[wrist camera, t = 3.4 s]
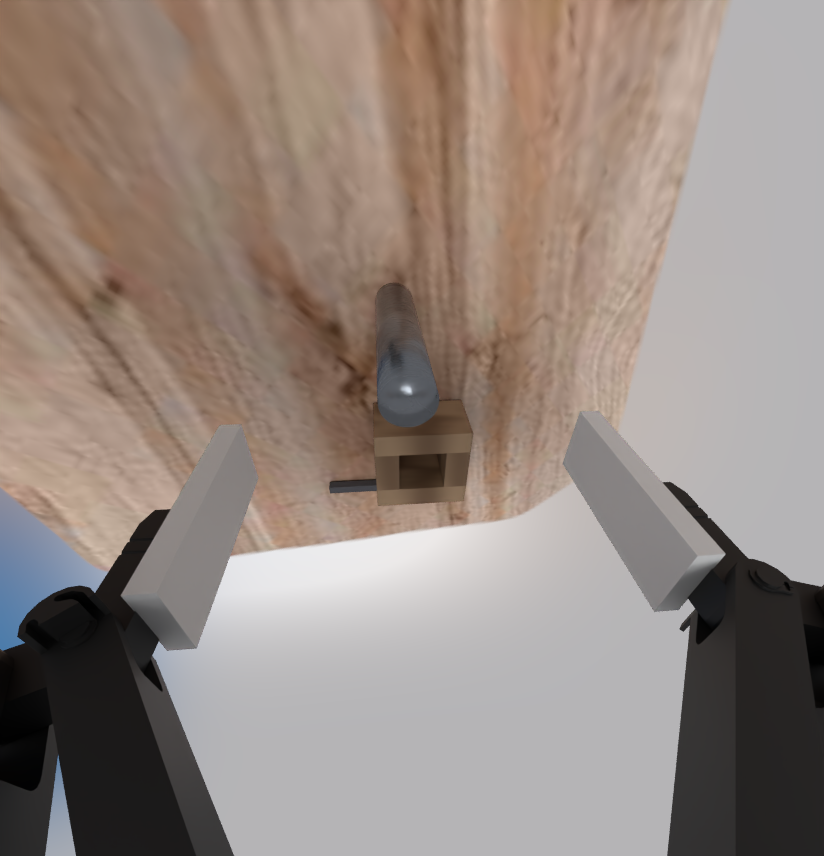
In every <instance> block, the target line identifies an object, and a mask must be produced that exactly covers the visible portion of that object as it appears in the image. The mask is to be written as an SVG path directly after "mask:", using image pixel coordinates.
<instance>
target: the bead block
mask: <svg viewBox="0 0 824 856" xmlns="http://www.w3.org/2000/svg"><path fill="white" fill-rule="evenodd" d="M373 414H374V452H375V468H376V484H377V499H378V506H385V505H402V504H420V503H437V502H455V501H464V495H465V488H466V481H467V474H468V467H469V460H470V452H471V445H472V438H473V431H472V429H471V426H470V423H469V420H468V417H467V415H466V412H465V409H464V406H463V403H462V401H461V400H449V401H439V406H438V409H437V411H436V412H435V414H434V415H433V416H432V418H430V419H429V420H428V421H427V422H425V423H423V424H421V425H418V426H414V427H399V426H396V425H393V424H391V423H389V422H388V421H387V420H385V419H384V418H383V416H382V415H381V413H380V411H379V409H378V403H373Z"/></svg>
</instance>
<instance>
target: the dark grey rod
mask: <svg viewBox="0 0 824 856" xmlns="http://www.w3.org/2000/svg"><path fill="white" fill-rule="evenodd" d="M329 489H330V493H344V492H362V491H377V484H376V480H364V481H344V482H330V486H329Z"/></svg>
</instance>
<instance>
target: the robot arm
mask: <svg viewBox="0 0 824 856" xmlns="http://www.w3.org/2000/svg"><path fill="white" fill-rule="evenodd" d="M563 465H564V466H565V468H566V470H567V471H568V473H569V475H570V476H571V478H572V479H573V481H574V483H575V484H576V486H577V488H578V489H579V491H580V492H581V494H582V495H583V497H584V498H585V500H586V502H587V504H588V505H589V507H590V509H591V510H592V512H593V513H594V515H595V517H596V518H597V520H598V521H599V523H600V525H601V526H602V528H603V530H604V531H605V533H606V534H607V536H608V538H609V539H610V541H611V543H612V544H613V546H614V547H615V549H616V550H617V552H618V554H619V555H620V557H621V559H622V560H623V562H624V564H625V565H626V567H627V568H628V570H629V572H630V573H631V575H632V576H633V578H634V580H635V581H636V583H637V585H638V586H639V588H640V589H641V591H642V593H643V594H644V596H645V597H646V599H647V601H648V602H649V604H650V606H651V607H652V609H653V610H654V612H656V611H669V610H679V609H680V607H681V606H682V605H683V604H684V603H685V602H686V600H687V599H689V600H690V602H691V603H692V605H693V606H694V607H695V610H694V611H693V612H692V613H691V614H690V615H689V616H688V618H687V619H686V620H685V621H684V622H683V623H682V625H681V627H680V630H682V631H685V629H686V628H687V627H688V626H690V631H689V642H688V651H687V662H686V671H685V681H684V692H683V702H682V712H681V723H680V732H679V742H678V752H677V763H676V773H675V783H674V793H673V804H672V813H671V823H670V834H669V844H668V854H667V856H824V585H823V586H822V587H819V586H815V585H810V584H805V583H800V582H796V581H791V580H790V579H789V578H788V577H786V575H784V574H783V573H782V572H780V571H779V570H778V569H776V568H774V567H772V566H770V565H768V564H767V563H765V562H761V561H758V560H755V559H748V558H747V557H746V556H745V555H744V554H743V553H742V552H741V551H740V550H739V548H738V547H737V546H736V545H735V544H734V543H733V542H732V541H731V540H730V539H729V538H728V537H727V536H726V535H725V533H724V532H723V531H722V530H721V529H720V528H719V527H718V526H717V525H716V524H715V523H714V522H713V521H712V520H711V518H708V515H707V514H706V513H705V512H704V511H703V510H702V509H701V508H699V507H698V505H697V503H695V501H694V500H693V499H692V498H691V497H690V496H689V495H688V494H687V493H686V492H685V491H683V490H682V489H680V488H678V487H677V486H676V485H674V484H673V483H671V482H661V481H660V480H659V478H658V477H657V476H656V475H655V474H654V473H653V472H652V470H651V469H650V468H649V467H648V466H647V465H646V464H645V463H644V461H643V460H642V459H641V458H640V457H639V456H638V455H637V454H636V452H635V451H634V450H633V449H632V448H631V447H630V446H629V445H628V443H627V442H626V441H625V440H624V439H623V438H622V437H621V436H620V434H619V433H618V432H617V431H616V430H615V429H614V428H613V427H612V425H611V424H610V423H609V422H608V421H607V420H606V419H605V418H604V416H603V415H602V414H601V413H600V412H599V411H582V412H580V413H579V416H578V419H577V422H576V425H575V428H574V431H573V434H572V437H571V440H570V443H569V446H568V449H567V452H566V455H565V458H564V461H563ZM257 480H258V475H257V472H256V469H255V466H254V463H253V460H252V457H251V453H250V450H249V447H248V444H247V441H246V438H245V435H244V432H243V429H242V426H241V424H233V425H220V426H219V427H218V429H217V431H216V432H215V434H214V436H213V438H212V439H211V441H210V443H209V444H208V446H207V448H206V450H205V451H204V453H203V455H202V457H201V458H200V460H199V462H198V463H197V465H196V467H195V469H194V470H193V472H192V474H191V475H190V477H189V479H188V481H187V482H186V484H185V486H184V488H183V489H182V491H181V493H180V494H179V496H178V498H177V500H176V501H175V503H174V505H173V506H172V508H171V509H167V510H155V511H154V512H152V513H151V514H150V515H149V516H148V517H147V518H146V519H145V520H143V521H142V522H141V523H140V524H139V525H138V527H137V529H136V530H135V532H134V533H133V535H132V536H131V538H130V542H128V543H127V544H126V546H125V547H124V549H123V550H122V554H121V555H119V557H118V558H117V560H116V561H115V563H114V564H113V566H112V567H111V569H110V571H109V572H108V574H107V575H106V577H105V579H104V580H103V581H102V583H101V585H100V586H99V588H98V589H97V591H96V593H94V592H93V591H92V590H91V589H90V588H89V587H84V586H74V587H68V588H65V589H63V590H61V591H58V592H56V593H53V594H52V595H50V596H48V597H47V598H46V599H44V600H42V601H41V602H39V603H38V604H37V605H36V606H35V607H34V608H33V609H32V610H31V611H30V612H29V613H28V614H27V615H26V617H25V618H24V620H23V621H22V623H21V624H20V626H19V631H18V636H17V637H19V638H20V639H21V640H22V641H24V642H25V643H24V644H21V645H18V646H15V647H13V648H9V649H7V650H4V651H2V650H1V649H0V856H45V852H46V844H47V836H48V828H49V820H50V812H51V805H52V797H53V789H54V781H55V773H56V765H57V757H58V755H59V761H60V767H61V772H62V778H63V784H64V789H65V795H66V800H67V807H68V812H69V818H70V824H71V829H72V835H73V841H74V846H75V852H76V856H234V855H233V852H232V850H231V847H230V845H229V842H228V840H227V837H226V835H225V832H224V830H223V827H222V825H221V822H220V820H219V817H218V815H217V812H216V810H215V807H214V805H213V802H212V800H211V797H210V795H209V792H208V790H207V787H206V785H205V782H204V780H203V777H202V775H201V772H200V770H199V767H198V765H197V762H196V760H195V757H194V755H193V752H192V750H191V747H190V745H189V742H188V740H187V737H186V735H185V732H184V730H183V727H182V725H181V722H180V720H179V717H178V715H177V712H176V710H175V707H174V705H173V702H172V700H171V697H170V695H169V692H168V690H167V687H166V685H165V682H164V680H163V677H162V675H161V672H160V670H159V667H158V665H157V662H156V660H155V659H154V658H153V657H152V654H153V653H154V650H155V648H156V646H157V644H158V641H159V642H160V643H161V644H162V645H163V646H164V648H165V649H166V650H167V651H169V650H182V649H194V648H197V645H198V643H199V640H200V637H201V634H202V632H203V629H204V626H205V624H206V621H207V618H208V615H209V613H210V610H211V607H212V604H213V602H214V599H215V596H216V593H217V590H218V588H219V585H220V582H221V580H222V577H223V574H224V571H225V568H226V566H227V563H228V560H229V558H230V555H231V552H232V549H233V547H234V544H235V541H236V538H237V536H238V533H239V530H240V527H241V525H242V522H243V519H244V516H245V514H246V511H247V508H248V505H249V502H250V500H251V497H252V494H253V491H254V489H255V486H256V483H257Z"/></svg>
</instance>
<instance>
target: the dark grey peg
mask: <svg viewBox="0 0 824 856" xmlns="http://www.w3.org/2000/svg"><path fill="white" fill-rule="evenodd" d="M375 303H376V351H377V399H378V409H379V411H380V413H381V415H382V416H383V418H384V419H385V420H387V421H388V422H389V423H391V424H393V425H396V426H399V427H414V426H418V425H421V424H423V423H425V422H427V421H428V420H429V419H430V418H432V416H433V415H434V414H435V412H436V411H437V409H438V406H439V394H438V390H437V387H436V383H435V379H434V376H433V372H432V368H431V365H430V361H429V358H428V354H427V350H426V347H425V343H424V339H423V336H422V332H421V328H420V325H419V321H418V317H417V314H416V310H415V306H414V303H413V299H412V296H411V293H410V291H409V290H408V289H407V288H406V287H405V286H403V285H401V284H399V283H389V284H386V285H385V286H383V287H382V288H381V289H380V290H379V291H378V293H377V295H376V302H375Z"/></svg>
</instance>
